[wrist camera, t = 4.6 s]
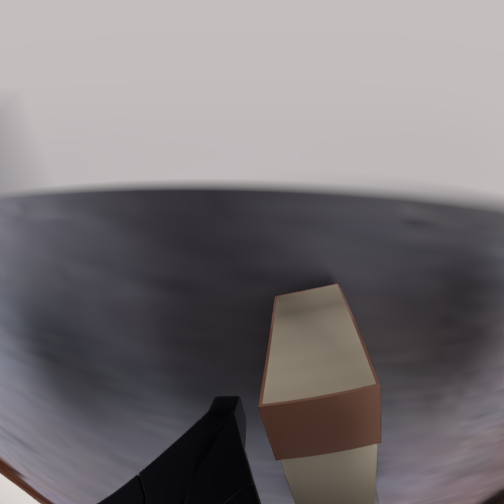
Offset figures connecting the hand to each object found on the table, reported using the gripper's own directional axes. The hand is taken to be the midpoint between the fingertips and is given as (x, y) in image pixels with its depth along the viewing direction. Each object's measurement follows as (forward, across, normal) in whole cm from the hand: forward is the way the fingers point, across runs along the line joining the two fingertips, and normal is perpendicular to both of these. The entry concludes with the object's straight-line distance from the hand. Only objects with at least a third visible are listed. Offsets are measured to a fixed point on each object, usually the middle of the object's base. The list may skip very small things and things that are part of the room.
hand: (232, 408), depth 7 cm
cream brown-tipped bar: (+1, -3, +3) cm, 4 cm away
